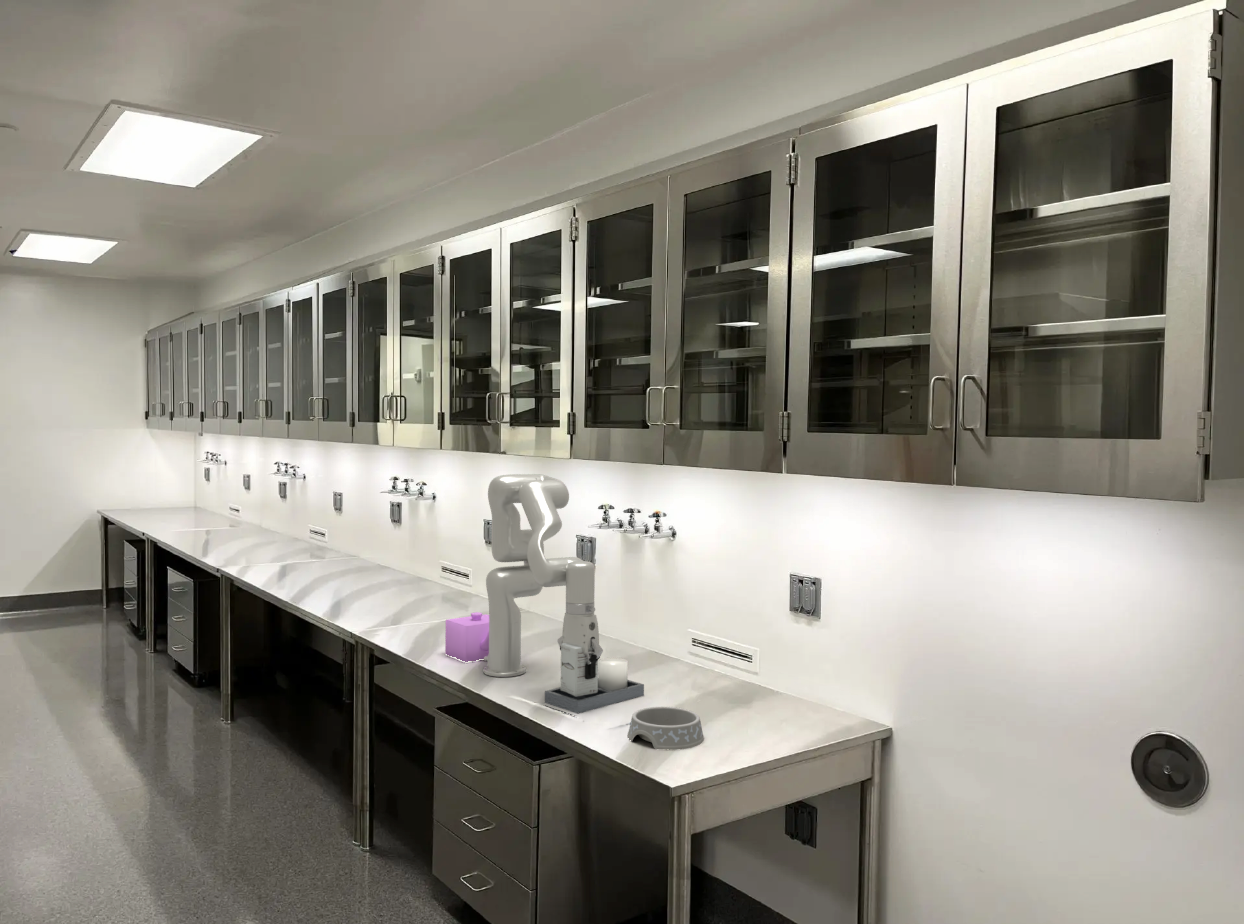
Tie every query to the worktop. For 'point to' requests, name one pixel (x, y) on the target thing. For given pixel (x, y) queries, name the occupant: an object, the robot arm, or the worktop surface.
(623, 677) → the white rounded cylinder
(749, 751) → the worktop surface
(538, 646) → the worktop surface
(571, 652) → the supplement box
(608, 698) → the divided grey tray
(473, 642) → the teapot
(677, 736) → the dog bowl
